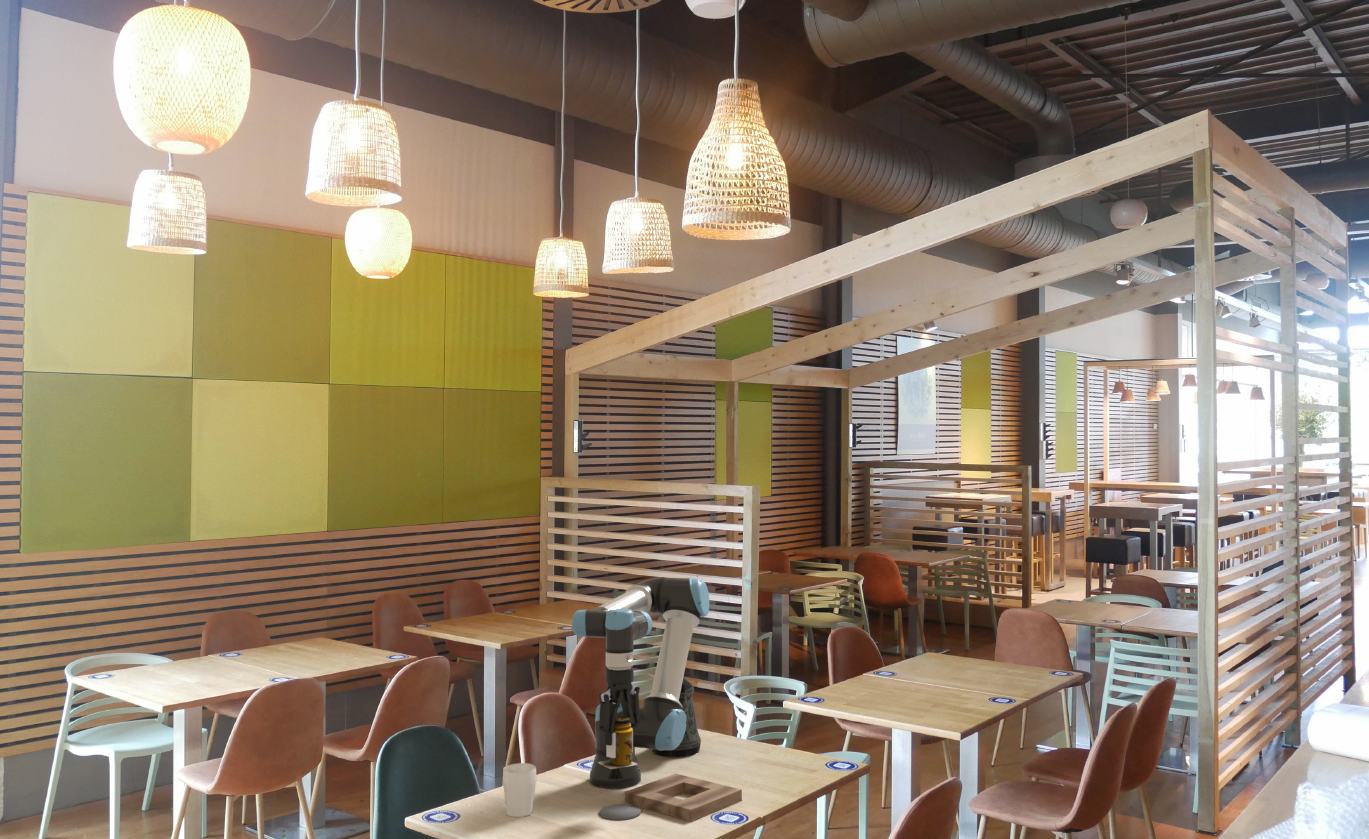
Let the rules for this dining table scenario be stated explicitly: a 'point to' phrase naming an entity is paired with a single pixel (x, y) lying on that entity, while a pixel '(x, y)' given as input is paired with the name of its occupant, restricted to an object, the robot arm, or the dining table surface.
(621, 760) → the condiment
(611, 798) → the dining table surface
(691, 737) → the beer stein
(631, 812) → the coaster
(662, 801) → the holder board
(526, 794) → the cup
